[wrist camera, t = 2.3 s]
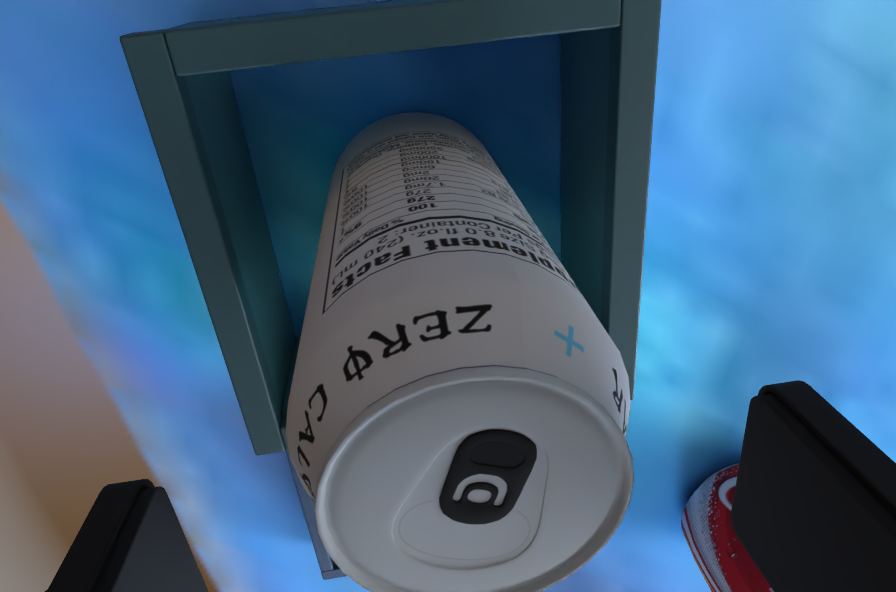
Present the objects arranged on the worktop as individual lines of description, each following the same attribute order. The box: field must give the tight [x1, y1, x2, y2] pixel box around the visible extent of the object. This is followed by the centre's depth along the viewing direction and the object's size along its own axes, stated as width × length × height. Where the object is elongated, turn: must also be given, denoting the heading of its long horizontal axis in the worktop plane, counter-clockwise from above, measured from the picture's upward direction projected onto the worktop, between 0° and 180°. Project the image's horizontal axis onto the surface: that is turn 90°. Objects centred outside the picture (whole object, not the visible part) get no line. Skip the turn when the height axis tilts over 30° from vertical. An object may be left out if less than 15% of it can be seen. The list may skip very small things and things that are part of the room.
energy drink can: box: [286, 112, 634, 592], centre depth 16 cm, size 6×6×15 cm
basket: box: [120, 0, 661, 455], centre depth 20 cm, size 13×13×6 cm
